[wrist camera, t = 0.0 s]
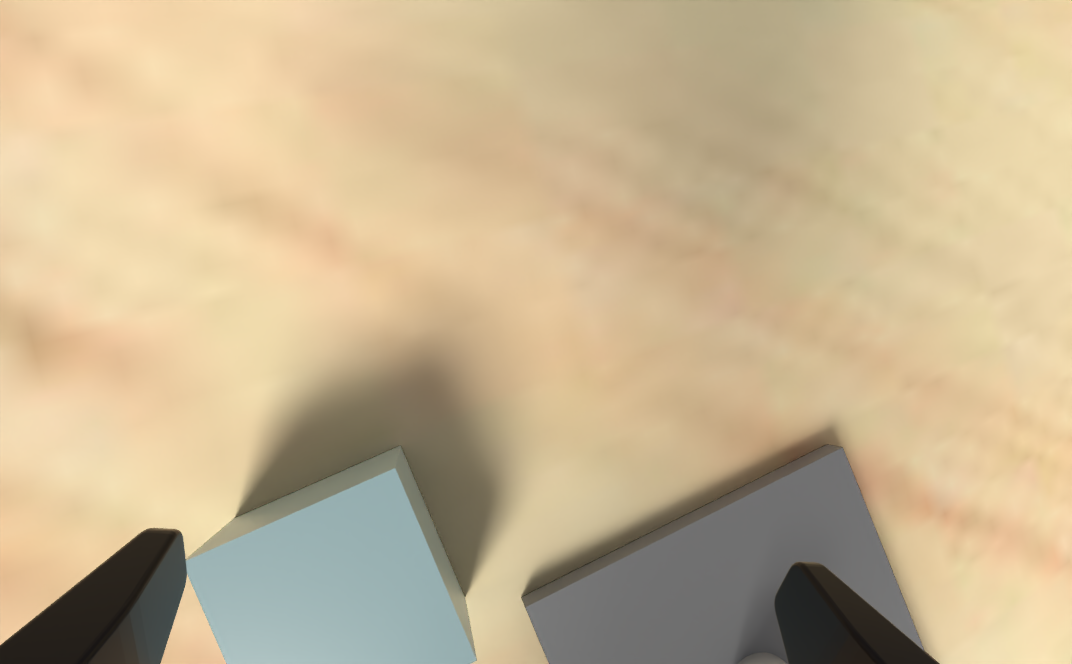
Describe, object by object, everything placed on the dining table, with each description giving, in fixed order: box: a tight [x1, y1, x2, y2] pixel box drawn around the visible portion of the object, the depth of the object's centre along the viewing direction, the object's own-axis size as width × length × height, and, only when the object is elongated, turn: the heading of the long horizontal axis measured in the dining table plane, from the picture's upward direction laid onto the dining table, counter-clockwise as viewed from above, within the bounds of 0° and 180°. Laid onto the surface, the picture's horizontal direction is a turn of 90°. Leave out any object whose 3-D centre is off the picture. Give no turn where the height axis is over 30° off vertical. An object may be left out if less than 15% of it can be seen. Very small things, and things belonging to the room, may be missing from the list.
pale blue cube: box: [186, 446, 477, 664], centre depth 21 cm, size 6×6×5 cm
